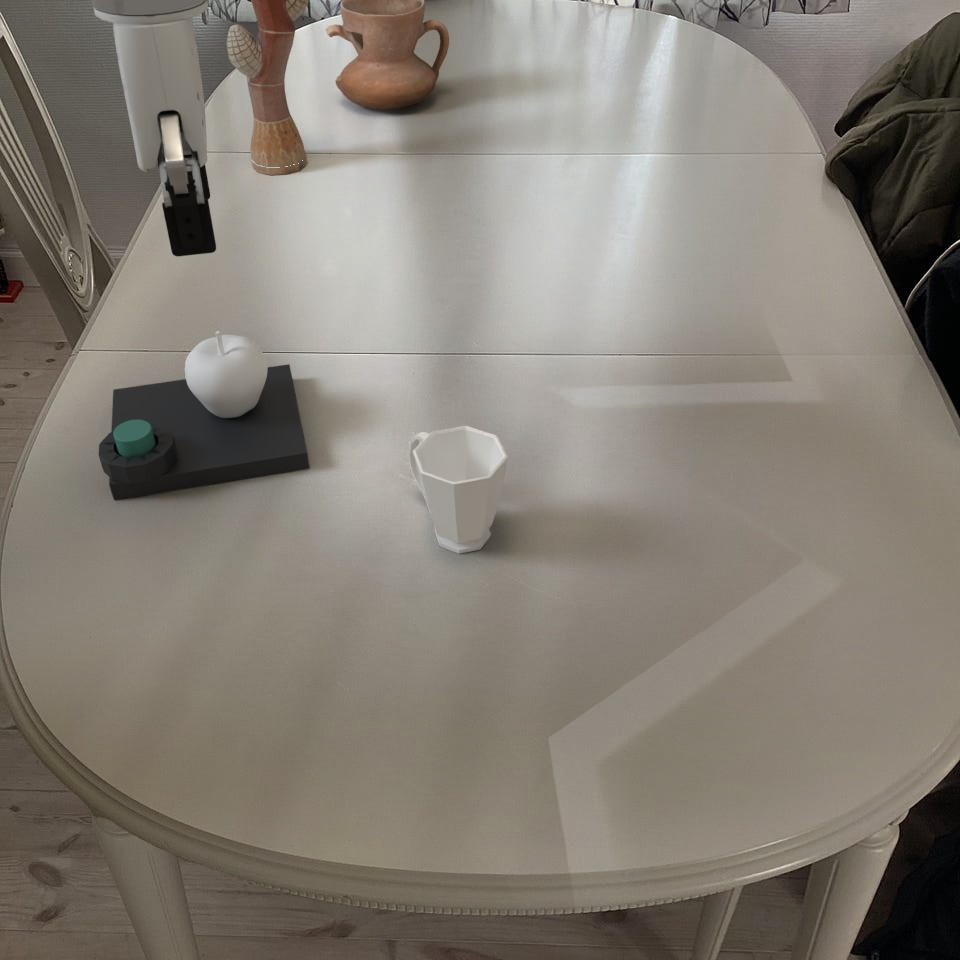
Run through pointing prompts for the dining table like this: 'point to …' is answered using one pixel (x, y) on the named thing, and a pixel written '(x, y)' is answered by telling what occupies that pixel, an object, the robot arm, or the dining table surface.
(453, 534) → the cup
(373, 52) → the ceramic jug
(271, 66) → the vase
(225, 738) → the dining table surface
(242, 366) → the plain white apple
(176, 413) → the scale
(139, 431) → the button
